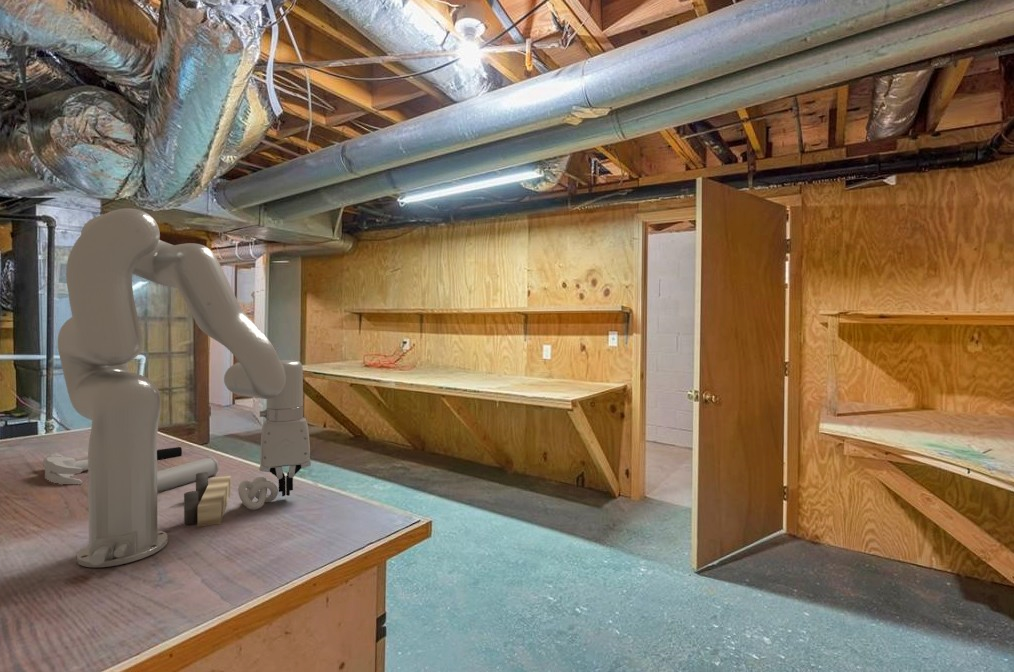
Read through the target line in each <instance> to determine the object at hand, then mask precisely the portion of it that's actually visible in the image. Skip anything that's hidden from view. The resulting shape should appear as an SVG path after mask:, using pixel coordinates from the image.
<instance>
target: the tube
mask: <svg viewBox="0 0 1014 672" xmlns="http://www.w3.org/2000/svg"><path fill="white" fill-rule="evenodd" d="M201 472H208V478H211V477H214V475H215V476H217V473H218V472H219V461H218V460H217V459H216V458H215V457H214V456H210V455H209V456H208V455H207V456H206V457H204V458H201V459H197V460H193V461H190V462H186V463H182V464H178V465H175V466H172V467H168V468H164V469H161V470H157V494H159V493H162V492H165V491H168V489H169V490H171V489H175V488H178V487H181V485H182V486H184V485H187V484H191V483H194V481H195V482H196V474H197V473H201ZM210 476H211V477H210ZM164 490H165V491H164ZM161 491H162V492H161ZM158 492H159V493H158Z"/></svg>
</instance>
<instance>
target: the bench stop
mask: <svg viewBox="0 0 1014 672" xmlns="http://www.w3.org/2000/svg"><path fill="white" fill-rule="evenodd" d="M231 493H232V475H227V476H224V475H223V476H215V477H214V476H213V477H210V480H209V477H208V472H201V473H197V474H196V481H195V490H192V491H188V492H187V491H186V492H185V493H184V494H183V523H184V524H183V525H185V526H190V525H194V524H197V527H198V528H199V527H207V526H212V525H220V524H222V521H223V519H224V514H225V512H226V509H227V507H228V506H227V505H228V503H229V500H230V497H231Z"/></svg>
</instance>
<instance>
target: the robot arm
mask: <svg viewBox="0 0 1014 672" xmlns="http://www.w3.org/2000/svg"><path fill="white" fill-rule="evenodd" d="M160 237H161V234H160V227H159V225H158V223H157V221H156V219H154V217H153V216H152V215H150V214H149V213H147V212H146V211H144V210H140V209H137V208H133V207H132V208H131V207H130V208H125V207H124V208H118V209H115V210H111V211H109V212H106V213H104V214H100V215H97V216H95V217H93V218H91V219H90V220H89V219H88V221H87V222H85V224H83V226H82V229H81V230H80V235H79V237H78V238H77V239H76V241H75V242H74V244H73V246H72V248H71V250H70V252H69V255H68V258H67V263H66V269H65V274H66V275H65V278H66V279H65V280H66V288H67V293H68V299H69V306H70V312H71V317H70V318H68V319H67V320H66V321H65V322H64V323H63V325H62V326H61V328H60V329H59V332H58V336H57V349H58V355H59V360H60V364H61V368H62V374H63V377H64V382H65V386H66V390H67V393H68V398H69V400H70V403H71V405H72V408H73V409H74V410H75V411H76V413H78V414H79V415H80V416H82V417H83V418H85V419H87V420H89V421H91V429H90V434H89V438H88V439H89V440H88V448H87V450H88V451H87V452H88V453H87V460H88V471H87V472H88V473H87V474H88V475H87V476H88V478H87V479H88V545H85V546H84V547H83V548H81V549H80V550H79V552H77V555H76V562H77V564H78V565H79V566H80V565H81V566H82V567H87V568H108V567H114V566H121V565H124V564H129V563H132V562H136V561H139V560H142V559H145V558H147V557H149V556H152V555H154V554H156V553H158V552H160V551H161V550H162V549H164V548H165V547H166V545H167V544H168V542H169V535H168V533H167V532H165V531H162V530H158V525H159V524H158V522H159V521H158V519H159V518H158V493H157V471H158V460H157V450H158V432H159V425H160V420H161V418H160V417H161V412H162V396H161V392H160V391H159V388H158V386H157V385H156V384H155V383H154V382H153V381H152V380H151V379H149V378H148V377H146V376H144V375H141V374H139V373H135V372H130V367H129V363H130V362H131V361H133V360H134V359H136V358H137V356H138V355H140V352H141V350H142V349H143V335H142V330H141V326H140V321H139V316H138V312H137V307H136V303H135V298H134V290H133V275H136V277H137V276H138V277H140V278H142V279H145V280H147V281H150V282H153V283H156V284H158V285H161V286H164V287H169V288H173V289H174V288H175V289H178V292H179V294H180V295H181V296H182V299H183V301H184V302H185V304H186V306H187V309H189V312H190V313H191V316H192V317H193V319H194V321H195V324H196V325H197V327H198V328H199V330H201V331H202V332H203V333H204V334H205V335H207V336H208V337H209V338H211V339H213V340H215V341H216V342H218V343H219V344H221V345H222V346H224V347H225V348H226V349H227V350H228V351H229V352H230V353H231V354H232V356H234V357H235V359H236V360H237V361H238V362H236V363H234V364H233V365H231V366H230V367H229V368H227V369H226V371H225V373H224V377H223V383H224V386H225V387H226V388H227V390H229V392H231V393H232V394H235V395H238V396H241V397H247V398H256V399H261V400H266V408H265V409H264V410H260V411H259V418H265V419H266V420H265V421H263V422H262V423H263V424H262V428H261V434H260V435H261V437H260V451H259V453H260V454H259V455H260V457H259V458H260V465H259V471H260V472H263V473H271V474H272V475H273V476H275V477H276V478H277V480H278V493H281V494H282V495H281V497H285V496H287V497H288V496H291V495H290V491H294V477H295V475H296V474H297V473H298V472H299V471H300V470H301V469H304V468H308V467H310V466H311V464H312V462H311V458H310V454H311V446H310V431H309V425H308V421H307V419H306V418H305V417H304V391H303V390H304V382H303V381H304V380H303V379H304V375H303V374H304V373H303V372H304V371H303V369H304V368H303V364H302V362H301V361H298V360H293V359H290V360H289V359H284V360H283V359H282V360H281V359H280V357H279V355H278V353H277V351H276V349H275V348H274V346H273V344H272V343H271V341H270V339H269V338H268V337H267V336H266V334H264V332H263V331H262V330H261V329H260V328H259V327H258V326H257V324H255V322H254V321H253V320H252V319H251V318H250V317H249V316H248V315H246V313H245V311H244V310H243V309H242V307H241V305H240V302H239V301H238V298H237V296H236V295H235V292H234V290H233V288H232V286H231V284H230V282H229V281H228V278H227V276H226V274H225V271H224V269H223V268H222V266H221V264H220V262H219V259H218V258H217V256H216V255H215V253H214V252H213V251H212V250H211V249H210V248H209V247H207V246H206V245H203V244H200V243H195V242H194V243H191V242H187V243H179V244H171V243H170V242H167V241H163V240H161V239H160ZM283 467H288V472H287V473H286V475H285V473H284V471H283Z"/></svg>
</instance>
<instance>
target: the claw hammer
mask: <svg viewBox="0 0 1014 672" xmlns="http://www.w3.org/2000/svg"><path fill="white" fill-rule="evenodd" d="M182 456H183V449H182V447H181V446H176V447H169V448H168V447H167V448H160V449H157V461H161V460H166V459H172V458H173V459H174V458H178V457H182ZM41 464H42V466H43V468H45V469H44V479H45V480H46V479H47V480H49V481H48V482H50V481H52V482H55V483H60V484H59V485H63V484H78V485H79V484H81V485H82V484H83V481H82V480H81V479H79V478H75V477H74V476H75V475H77V474H81V473H82V472H83V471H87V470H88V459H84V460H83V459H81V460H76V458H74V457H69V456H67V457H65V456H63V454H60V453H55V452H54V453H51V454H49V455H48V456H46V457H45V458H44V459H43V460H42V463H41ZM73 475H74V476H73ZM70 476H72V477H70ZM47 480H46V481H47ZM52 482H51V483H52ZM55 483H54V484H55ZM78 485H77V486H78ZM79 486H80V485H79Z"/></svg>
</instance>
